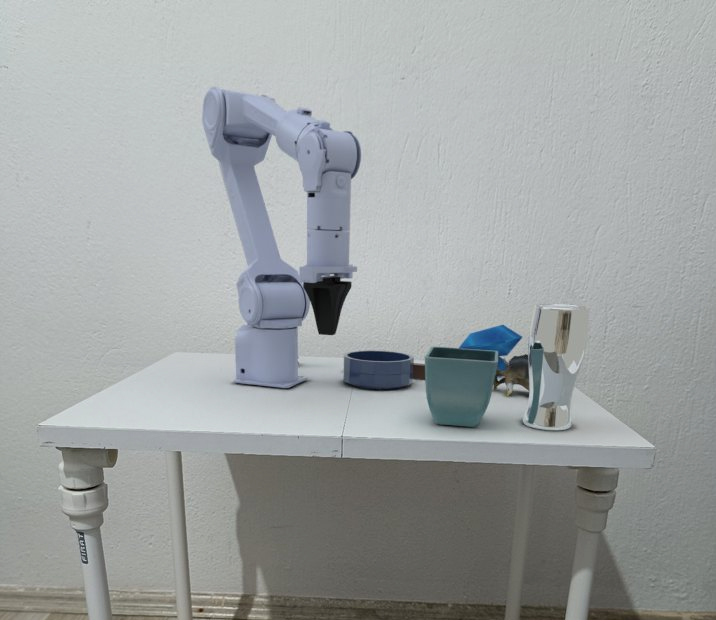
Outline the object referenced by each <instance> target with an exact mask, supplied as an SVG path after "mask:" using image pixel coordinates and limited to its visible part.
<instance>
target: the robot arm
mask: <svg viewBox="0 0 716 620" xmlns="http://www.w3.org/2000/svg"><path fill="white" fill-rule="evenodd" d="M312 114H313V110H311V109H310V108H308V107H303V106H298V107H297V109H296V108H294V109H290V110H288V111H287V110H286V109H285V108H283V107H282V106H281V105H280V104H278V103H277V101H276V99H275V98H274V97H270V96H269V95H266V94H261V95H259V94H252V93H247V92H242V91H235V90H230V89H223V88H220V87H218V86H211V87H210V88H209V89H208V90H207V92H206V93H205V96H204V99H203V103H202V116H201V122H202V127H203V131H204V133H205V138H206V140H207V144H208V147H209V150H210V154H211V155H212V157H214V158H215V159H216V160H217V161H218V165H219V170H220V174H221V179H222V180H223V184H224V188H225V191H226V195H227V198H228V201H229V206H230V209H231V212H232V216H233V219H234V222H235V226H236V229H237V233H238V237H239V239H240V240H239V241H240V243H241V247H242V250H243V254H244V258H245V261H246V265H247V267H246V269H244V270H243V271H242V272H241V274H239V277H238V279H237V282H236V289H237V294H238V296H237V297H238V309H239V312H240V315H241V317H242V319H243V320H244V321H245V322H246V324H242V325H241V326H240V327H239V328H238V329H237V331H236V335H235V339H234V350H235V351H234V354H235V355H234V357H235V379H233V383H235V384H243V385H244V384H245V385H253V386H262V387H272V388H280V389H281V388H282V389H289V388H291V387H294V386H296V385H298V384H300V383H303V382H305V381H307V380H308V377H307V376H304V375H303V376H302V375H299V364H298V362H299V358H298V357H299V327H303V321H305V319H306V318H307V316H308V314H309V312H310V306H311V309H312V311H313V316H314V320H315V325H316V329H317V330H316V331H317V332H318V335H320V336H321V335H322V336H334V335H336V334H337V330H338V326H339V322H340V319H341V318H340V317H341V314H342V310H343V307H344V303H345V301H346V299H347V296H348V294H349V292H351V289H352V286H353V285H352V284H353V282H352V281H351V280H350V281H349V280H348V279H353V277H354V276H353V275H354V274H353V273H356V272H358V266H354V265H353V264H351V263H350V243H351V242H350V239H351V236H350V235H351V202H352V201H351V200H352V199H351V197H352V179H354V178H355V177H356V175H357V174H358V172H359V169H360V166H361V161H362V147H361V144H360V141H359V139H358V137H357V136H356V135H355V134H354V133H353V132H352V131H350V130H343V131H339V130H335V129H333V128H332V127H331V123H330V122H329V121H327V120H326V119H325V120H324V119H317V118H315V117H313V115H312ZM273 136H274V137H275V141H276V144H277V146H278V148H279V150H281V152H282V153H284V154H285V155H287V156H288V157H290V158H291V159H293V160H294V161H296V162H297V163H298V168H299V170H300V173H301V177H302V188H303V191H304V192H306V264H305V265H301V266H299V271H298V270H297V269H295V268H294V267H293V266H291V265H290V264H289V263H287V262H285V261H284V260H283V259H282V257H281V255H280V252H279V248H278V244H277V241H276V237H275V234H274V231H273V228H272V223H271V220H270V217H269V214H268V210H267V207H266V203H265V199H264V197H263V193H262V190H261V186H260V182H259V179H258V176H257V173H256V169H255V166H257V165H258V164H261V162H263V161H265V158H266V156H267V152H268V149H269V145H270V143H271V139H272V137H273ZM343 279H344V280H343ZM345 279H347V280H345Z"/></svg>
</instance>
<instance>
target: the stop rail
mask: <svg viewBox="0 0 716 620" xmlns="http://www.w3.org/2000/svg"><path fill="white" fill-rule="evenodd" d="M413 380H424V381H426V380H425V363H418V362H414V365H413Z"/></svg>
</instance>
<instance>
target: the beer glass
mask: <svg viewBox="0 0 716 620" xmlns="http://www.w3.org/2000/svg"><path fill="white" fill-rule="evenodd" d="M589 316H590V307H588V306H584V305H575V304H563V303H562V304H561V303H538V304H535V305H534V308H533V312H532V317H531V322H530V323H531V324H530V328H529V336H528V344H527V345H528V346H527V355H528V369H529V391H528V392H529V393H528V399H527V400H528V401H527V404H526V408H525V411H524V414H523V418H522V423H523V424H524V425H525V426H527V427H529V428H532V429H538V430H542V431H543V430H544V431H565V430H569V429H570V428H571V426H572V413H571V408H572V407H571V406H572V398H573V392H574V389H575V386H576V383H577V380H578V377H579V374H580V371H581V368H582V365H583V361H584V357H585V353H586V348H587V342H588V333H589V319H590V317H589Z"/></svg>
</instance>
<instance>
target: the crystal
mask: <svg viewBox="0 0 716 620" xmlns="http://www.w3.org/2000/svg"><path fill="white" fill-rule="evenodd" d="M522 339H523V336H522V335H521V334H519V333H517V332H516V331H514V330H513V329H511V328H509V327H508V326H506V325H505V324H500V325H497V326H492V327H489V328H485V329H481V330H478V331H474V332H470V333H469V334H468V335H467V337H466V338H465V339H464V340H463V341H462V343H461V345H460V346H459V347H458V348H461V349H477V350H492V351H498V352H499V353H498V365H497V367H498V368H499V371H501V370H506V369H507V366H506V364H505V362H504V358H502V357H507V356H509V354H510V353H511V352H512V351H513V349H514V348H515V347H516V346H517V345H518V344H519V342H520V341H521V340H522ZM507 363H508V364H509V361H507ZM499 376H500V375H497V377H499Z"/></svg>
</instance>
